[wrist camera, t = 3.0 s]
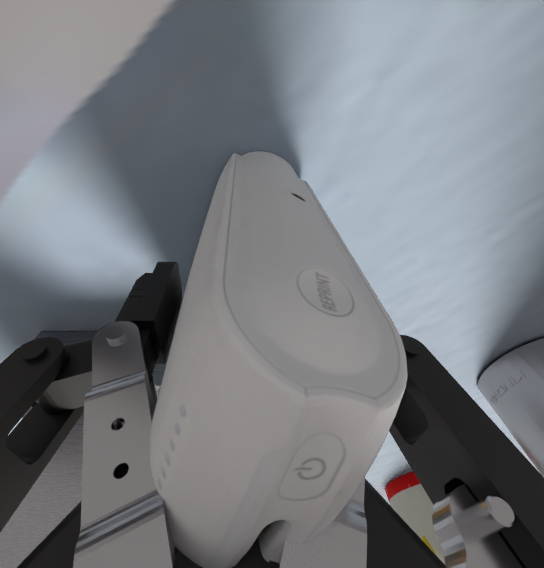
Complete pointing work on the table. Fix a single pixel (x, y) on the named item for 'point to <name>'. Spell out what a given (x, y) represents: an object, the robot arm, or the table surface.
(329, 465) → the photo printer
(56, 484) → the rack
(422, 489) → the kitchen timer
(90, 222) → the table surface
